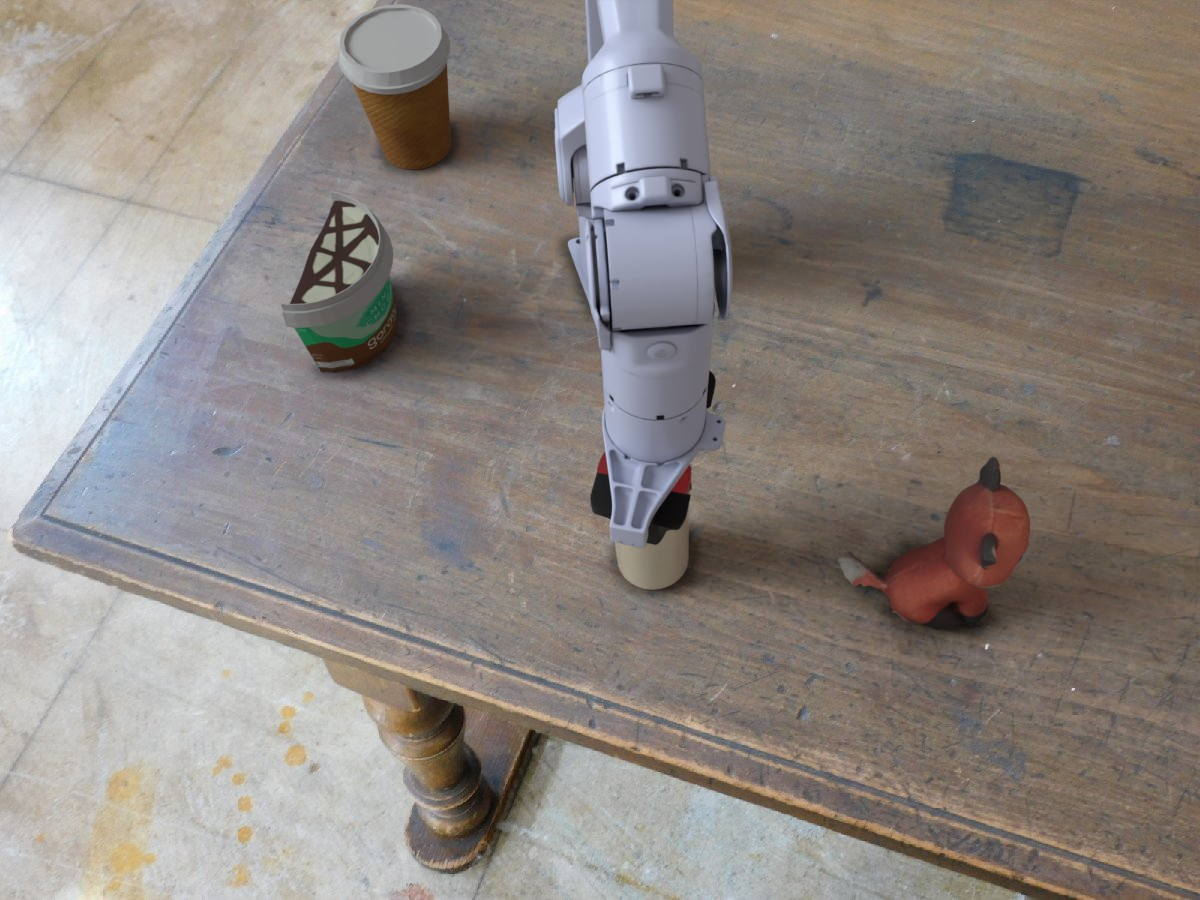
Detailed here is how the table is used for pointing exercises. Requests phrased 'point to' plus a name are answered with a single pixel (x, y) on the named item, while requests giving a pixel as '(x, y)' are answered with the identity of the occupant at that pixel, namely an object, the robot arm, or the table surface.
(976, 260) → the table surface
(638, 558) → the jar
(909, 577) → the stuffed fox
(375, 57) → the disposable coffee cup
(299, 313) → the food container
